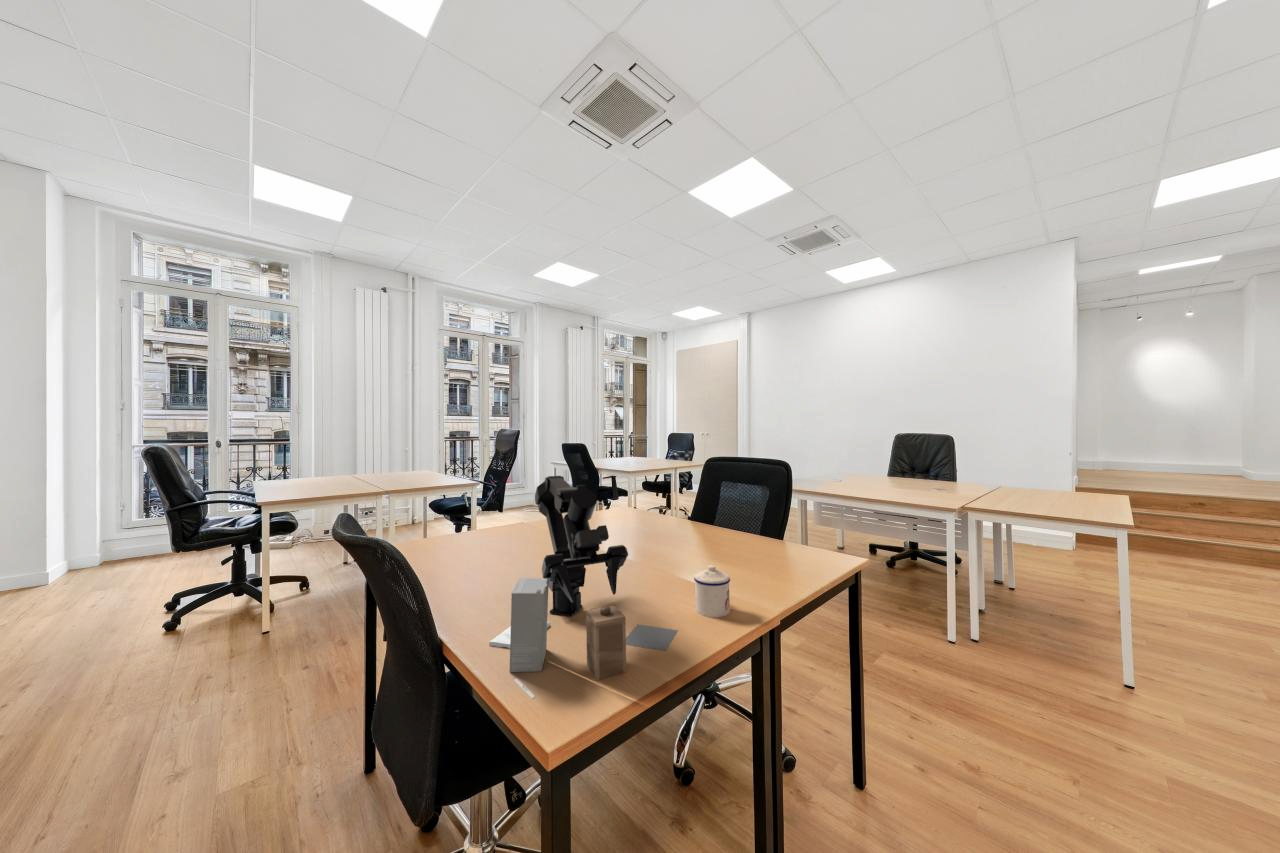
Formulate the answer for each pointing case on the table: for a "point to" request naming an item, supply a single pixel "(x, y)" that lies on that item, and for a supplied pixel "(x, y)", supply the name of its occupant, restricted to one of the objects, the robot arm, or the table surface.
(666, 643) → the rubber coaster
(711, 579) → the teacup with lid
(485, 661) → the table surface
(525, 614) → the skincare box
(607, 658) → the brown box
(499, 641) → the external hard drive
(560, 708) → the table surface
